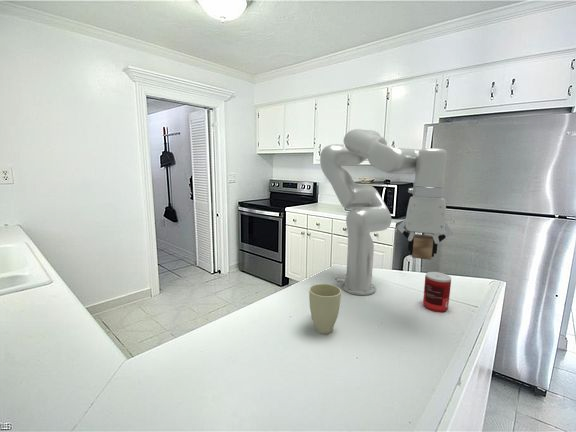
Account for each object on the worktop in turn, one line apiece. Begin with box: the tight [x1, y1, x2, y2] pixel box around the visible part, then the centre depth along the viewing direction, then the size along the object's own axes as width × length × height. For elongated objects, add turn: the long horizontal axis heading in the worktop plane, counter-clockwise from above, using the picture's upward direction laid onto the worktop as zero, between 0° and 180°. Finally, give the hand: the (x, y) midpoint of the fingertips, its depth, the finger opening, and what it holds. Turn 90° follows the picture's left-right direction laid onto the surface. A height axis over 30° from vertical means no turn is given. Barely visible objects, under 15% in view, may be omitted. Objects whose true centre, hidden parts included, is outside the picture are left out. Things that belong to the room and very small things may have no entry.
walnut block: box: [411, 233, 434, 261], centre depth 85 cm, size 5×5×6 cm
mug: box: [308, 283, 342, 335], centre depth 84 cm, size 11×10×12 cm
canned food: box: [422, 271, 452, 313], centre depth 97 cm, size 8×8×11 cm
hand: (421, 253), depth 86 cm, fingers closed on walnut block, 4 cm apart
